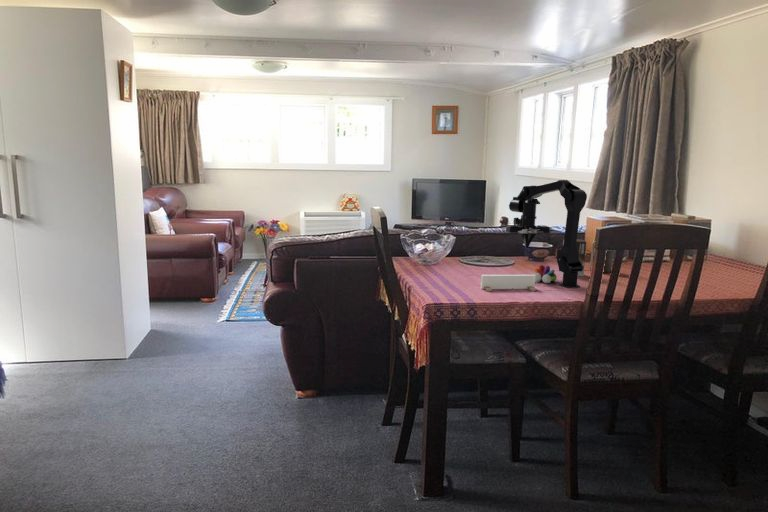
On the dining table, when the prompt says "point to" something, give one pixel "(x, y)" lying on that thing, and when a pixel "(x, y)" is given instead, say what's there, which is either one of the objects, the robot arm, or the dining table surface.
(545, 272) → the pom poms
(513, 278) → the white rectangular box
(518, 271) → the dining table surface
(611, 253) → the pillar candle
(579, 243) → the coffee box
